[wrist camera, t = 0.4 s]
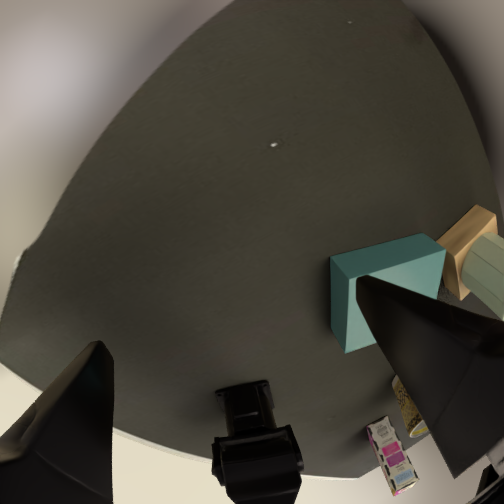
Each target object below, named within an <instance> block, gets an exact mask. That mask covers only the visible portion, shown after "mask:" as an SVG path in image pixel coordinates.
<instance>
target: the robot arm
mask: <svg viewBox="0 0 504 504" xmlns="http://www.w3.org/2000/svg"><path fill="white" fill-rule="evenodd" d="M356 302H357V304H358V306H359V308H360V311H361V313H362V315H363V317H364V319H365V321H366V323H367V325H368V327H369V329H370V331H371V333H372V335H373V337H374V339H375V340H376V342H377V344H378V345H379V347H380V348H381V350H382V352H383V353H384V355H385V356H386V358H387V360H388V361H389V363H390V365H391V366H392V368H393V369H394V371H395V373H396V374H397V376H398V378H399V379H400V381H401V383H402V384H403V386H404V388H405V389H406V391H407V393H408V395H409V396H410V398H411V400H412V401H413V403H414V405H415V407H416V408H417V410H418V412H419V414H420V415H421V417H422V419H423V421H424V423H425V424H426V426H427V428H428V430H429V431H430V434H431V436H432V437H433V439H434V441H435V443H436V445H437V447H438V449H439V450H440V452H441V454H442V456H443V458H444V460H445V462H446V464H447V466H448V468H449V470H450V472H451V474H452V476H453V478H454V479H455V478H457V477H458V476H460V475H461V474H462V473H464V472H465V471H467V470H468V469H469V468H471V467H472V466H473V465H475V464H476V463H477V462H478V461H480V460H481V459H482V458H484V457H485V456H487V457H488V459H489V461H490V462H491V464H490V465H489V466H487V467H486V468H485V469H484V470H483V473H482V476H481V480H480V483H479V487H478V490H477V493H476V496H475V498H473V499H472V500H471V501H469V502H468V503H466V504H504V321H500V320H496V319H493V318H489V317H486V316H482V315H479V314H476V313H472V312H470V311H467V310H464V309H461V308H458V307H456V306H453V305H449V304H447V303H445V302H442V301H439V300H437V299H434V298H431V297H428V296H426V295H423V294H420V293H418V292H415V291H412V290H409V289H407V288H404V287H401V286H398V285H395V284H393V283H390V282H387V281H384V280H382V279H379V278H376V277H373V276H370V275H364V276H360V277H358V278H357V279H356ZM215 394H216V398H217V400H218V402H219V404H220V406H221V408H222V410H223V412H224V414H225V418H226V425H227V432H228V436H227V437H214V442H215V443H213V444H212V453H213V459H212V475H214V476H215V477H217V479H218V481H219V483H220V485H221V486H225V488H226V493H227V495H228V497H229V498H230V499H231V500H232V501H233V502H234V503H235V504H294V503H295V500H296V497H297V494H298V492H299V489H300V486H301V483H302V479H301V476H300V473H301V472H304V464H303V459H302V455H301V452H300V449H299V446H298V444H297V441H296V439H295V436H294V433H293V431H292V428H291V426H290V425H285V426H284V427H279V428H277V427H276V423H275V419H274V415H273V411H272V409H273V408H274V404H273V399H272V395H271V390H270V386H269V382H268V381H261V382H257V383H252V384H248V385H243V386H238V387H233V388H228V389H223V390H218V391H216V392H215ZM113 411H114V360H113V357H112V355H111V354H110V352H109V351H108V349H107V348H106V346H105V344H104V343H103V342H102V341H100V340H99V341H93V342H91V343H89V345H88V346H87V347H86V348H85V349H84V350H83V351H82V352H81V353H80V354H79V355H78V356H77V357H76V358H75V359H74V360H73V361H72V362H71V363H70V364H69V365H68V366H67V367H66V368H65V369H64V370H63V371H62V372H61V373H60V375H59V376H58V377H57V378H56V379H55V380H54V381H53V382H52V383H51V384H50V385H49V386H48V387H47V388H46V390H45V391H44V392H43V393H42V394H41V395H40V396H39V397H38V398H37V400H35V402H34V403H33V404H32V405H31V406H30V407H29V408H28V409H27V410H26V411H25V413H24V414H23V415H22V416H21V417H20V418H19V419H18V420H17V421H16V422H15V423H14V424H13V425H12V426H11V427H10V428H9V429H8V430H7V431H6V432H5V433H4V434H3V435H2V436H1V437H0V504H113V488H112V431H113Z"/></svg>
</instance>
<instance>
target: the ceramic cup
mask: <svg viewBox="0 0 504 504" xmlns="http://www.w3.org/2000/svg"><path fill="white" fill-rule="evenodd" d="M392 386H393V389H394V392H395V394H396V397H397V400H398V403H399V406H400V409H401V411H402V415H403V419H404V422H405V426H406V429H407V431H408V434H409V436H410V437H417V436H420V435H422V434H424V433H426V432H428V431H429V430H428V428H427V426H426V424H425V423H424V421H423V419H422V417H421V415H420V414H419V412H418V410H417V408H416V407H415V405H414V403H413V401H412V400H411V398H410V396H409V395H408V393H407V391H406V389H405V388H404V386H403V384H402V383H401V381H400V379H399V378H398V376H397V374H396V376H395V378H394V380H393V382H392Z"/></svg>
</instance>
